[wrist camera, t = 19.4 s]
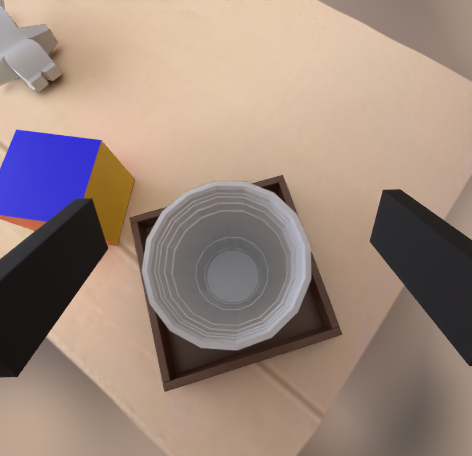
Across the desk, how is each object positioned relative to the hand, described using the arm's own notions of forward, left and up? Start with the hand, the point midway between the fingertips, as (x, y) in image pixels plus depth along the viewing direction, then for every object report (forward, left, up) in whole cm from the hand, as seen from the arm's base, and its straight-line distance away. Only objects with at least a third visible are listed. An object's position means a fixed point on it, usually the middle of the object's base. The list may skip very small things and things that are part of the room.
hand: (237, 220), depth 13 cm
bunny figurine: (+35, +20, -17) cm, 44 cm away
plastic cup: (-1, +1, -17) cm, 17 cm away
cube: (+11, +14, -17) cm, 25 cm away
